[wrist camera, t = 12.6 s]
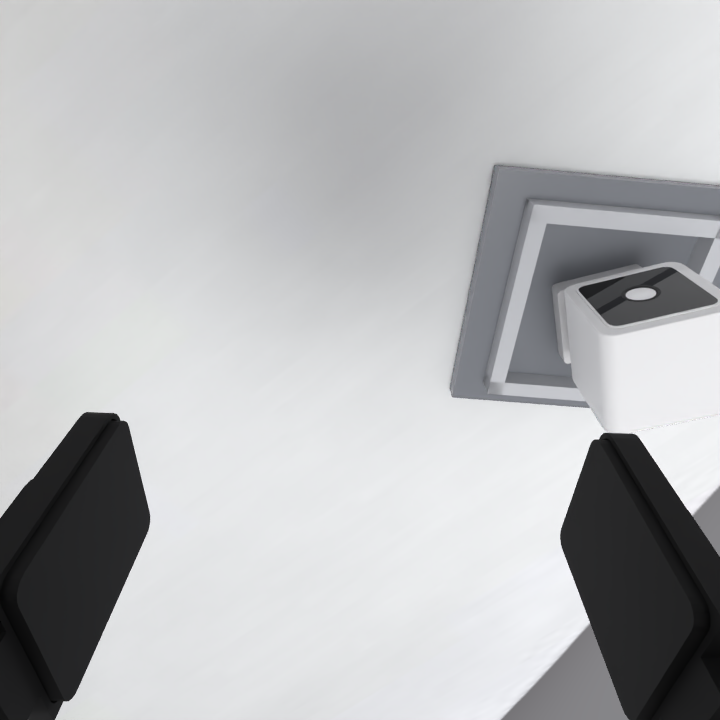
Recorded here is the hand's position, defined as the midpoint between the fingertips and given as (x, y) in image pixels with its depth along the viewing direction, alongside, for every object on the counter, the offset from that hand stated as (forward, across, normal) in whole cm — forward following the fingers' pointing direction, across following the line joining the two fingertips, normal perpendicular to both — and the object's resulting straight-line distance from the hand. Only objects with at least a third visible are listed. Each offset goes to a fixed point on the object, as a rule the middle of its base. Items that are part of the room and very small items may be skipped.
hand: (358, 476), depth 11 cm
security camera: (+24, -16, +6) cm, 29 cm away
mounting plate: (+25, -15, +7) cm, 30 cm away
